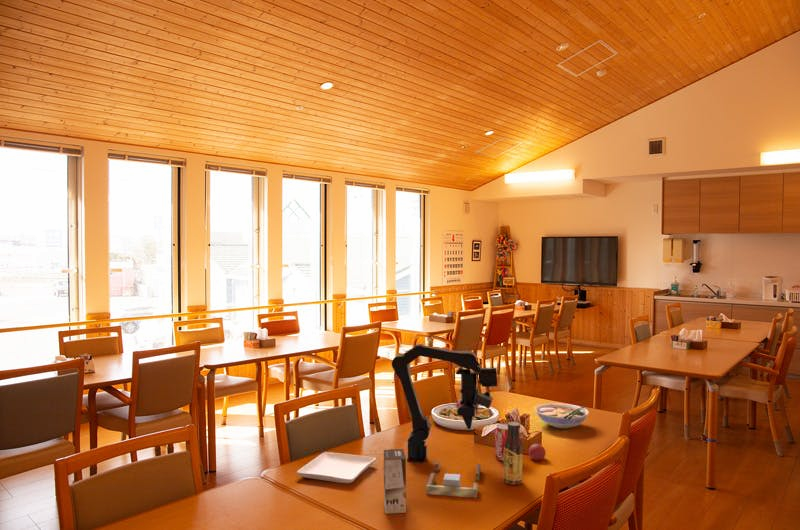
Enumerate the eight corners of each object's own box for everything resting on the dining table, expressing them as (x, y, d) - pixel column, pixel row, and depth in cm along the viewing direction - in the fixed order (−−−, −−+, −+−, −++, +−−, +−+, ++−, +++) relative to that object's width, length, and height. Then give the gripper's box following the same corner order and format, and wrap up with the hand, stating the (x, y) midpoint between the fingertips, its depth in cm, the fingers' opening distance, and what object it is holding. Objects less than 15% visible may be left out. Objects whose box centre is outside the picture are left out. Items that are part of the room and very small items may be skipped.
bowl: (503, 432, 245) (503, 414, 244) (433, 433, 245) (433, 414, 244) (492, 413, 275) (492, 396, 274) (430, 413, 275) (430, 397, 274)
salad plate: (295, 480, 194) (295, 470, 194) (324, 459, 214) (324, 450, 214) (352, 489, 187) (352, 479, 186) (377, 466, 206) (377, 457, 206)
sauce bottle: (499, 480, 192) (499, 421, 192) (515, 477, 195) (515, 419, 194) (510, 487, 186) (510, 426, 186) (526, 484, 189) (526, 424, 188)
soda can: (514, 462, 209) (514, 429, 208) (494, 461, 210) (494, 428, 210) (514, 455, 216) (514, 424, 215) (495, 454, 217) (495, 423, 217)
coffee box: (406, 513, 168) (406, 459, 168) (384, 514, 168) (384, 459, 168) (403, 499, 178) (403, 448, 177) (383, 500, 177) (382, 449, 177)
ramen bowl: (547, 415, 268) (547, 398, 268) (596, 424, 255) (596, 405, 255) (525, 429, 248) (525, 410, 248) (577, 439, 235) (577, 419, 234)
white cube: (443, 493, 183) (443, 479, 182) (445, 487, 187) (445, 473, 187) (459, 494, 182) (459, 480, 181) (460, 488, 186) (460, 474, 186)
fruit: (527, 462, 214) (520, 446, 211) (536, 452, 217) (529, 436, 214) (541, 467, 209) (534, 451, 206) (549, 456, 212) (542, 440, 210)
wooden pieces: (426, 493, 182) (426, 486, 182) (435, 468, 204) (435, 461, 204) (476, 497, 179) (476, 489, 179) (480, 471, 201) (480, 464, 201)
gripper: (488, 393, 199) (489, 438, 199) (493, 381, 217) (493, 422, 217) (456, 391, 201) (457, 435, 202) (463, 380, 219) (464, 420, 220)
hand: (469, 428), depth 210 cm, fingers closed
